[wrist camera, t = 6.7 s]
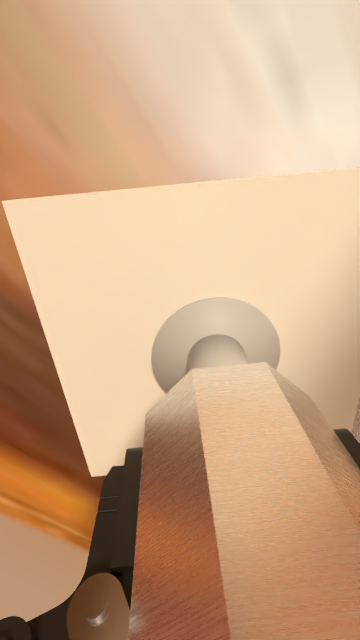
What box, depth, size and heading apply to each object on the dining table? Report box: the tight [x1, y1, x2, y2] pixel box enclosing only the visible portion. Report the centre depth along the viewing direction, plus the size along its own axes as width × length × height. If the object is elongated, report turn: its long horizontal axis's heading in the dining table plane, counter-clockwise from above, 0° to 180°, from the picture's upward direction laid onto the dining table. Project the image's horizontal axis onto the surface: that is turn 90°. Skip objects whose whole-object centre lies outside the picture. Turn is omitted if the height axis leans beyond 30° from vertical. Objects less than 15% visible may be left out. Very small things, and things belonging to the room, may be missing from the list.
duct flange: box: [2, 167, 360, 477], centre depth 15 cm, size 18×18×6 cm
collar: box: [128, 362, 360, 640], centre depth 9 cm, size 6×6×7 cm
